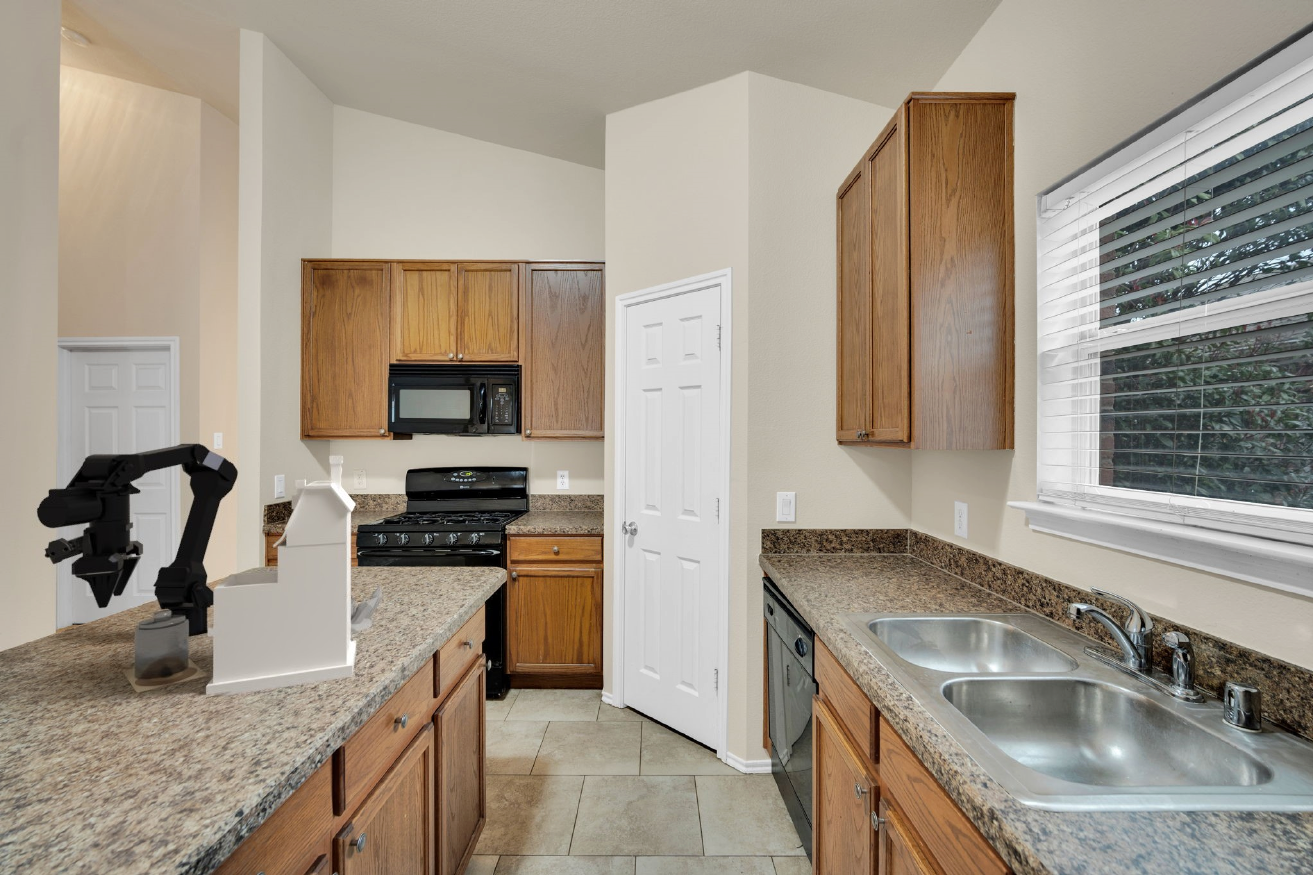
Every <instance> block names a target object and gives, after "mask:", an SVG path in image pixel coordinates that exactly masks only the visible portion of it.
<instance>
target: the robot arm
mask: <svg viewBox="0 0 1313 875" xmlns="http://www.w3.org/2000/svg"><path fill="white" fill-rule="evenodd" d="M176 466H181V467H182V469H181V470H182V471H183V472H184V473H185V474H187V476H188V477H190V479H189V488H190V489H191V492H192V495H193V500H192V503H191V506H190V509H189V513H188V517H187V520H186V523H185V526H184V530H183V533H182V536H181V538H180V542H179V545H178V550H177V552H176V556H175V558H174V560H173V561H172V563H171V564H169V565H168V566H161V567H160V568H159V570H158V572H157V579H156V581H155V582H154V584H153V587H154V593H153V594H154V597H156V600H157V602H158V605H159V607H160V608H159V609H160V610H161V611H162V610H171V615H184V616H185V619H188V620H189V638H191V637H196V636H200V635H205V634H208V608H211V606H214V590H212V589H211V588H210V587H209V586H208V585H207V580H208V573H207V570H206V569H205V568H206V567H205V565H204V559H205V556H206V552H207V549H208V546H209V542H210V538H211V535H212V532H213V527H214V524H215V522H216V518H217V514H218V511H219V507H220V503H221V501H222V500H223V499H225V497H226V496H227V495H229V493H230V492H231V491H233V488H234V486H235V483H236V481H237V479H238V475H239V471H238V469H237V468H236V466H235V465H234V463H233V462H231V461H229V460H228V459H227V458H226V457H224V456H222V455H220V454H217V453H215V452H213V451H212V450H210V449H209V448H207V447H206V445H204V444H201V443H179V444H177V445H174V446H169V447H163V448H158V449H152V450H147V451H142V452H136V453H129V454H128V453H125V454H124V453H123V454H121V453H120V454H119V453H118V454H117V453H116V454H115V453H113V454H111V453H110V454H107V453H106V454H105V453H104V454H103V453H102V454H101V453H100V454H99V453H96V454H95V453H94V454H90V455H88V456H86V457H85V458H84V461H83V462H82V464H81V466H80V468H79V469H78V471H76V474H75V475H73V477H72V479H71V480H70V482H69V483H68V484H67V485H66V487H65V488H50V489H48V496H46V497H44V498H43V499H42V500H41V502H40V503H39V505H38V507H37V508H36V515H37V518H38V520H39V522H40V523H41V524H42V526H45V527H47V528H48V529H57V528H64V527H70V526H71V527H72V526H79V525H85V524H88V527H85V529H83V531H82V532H83V533H82V535H81V536H77V537H74V538H71V539H68V540H67V539H66V538H63V537H61V538H58V539H55V540H52V541H49V542H48V544H47V545H48V546H47V547H46V548H45V549H44V551H45V554H44V557H45V558H47V559H49V560H50V561H51V564H53V565H56V564H58V563H61V562H63V561H64V560H67V559H69V558H72V557H76V556H77V555H81V554H82V556H81V557H79V558H77V559H76V560H75V561H74V562H72V563H71V575H74V576H75V577H76V578H77V579H81V580H82V581H85V582H87V583H88V585H89V587H90V589H91V592H92V595H93V597H94V600H95V602H96V605H97V607H98V609H105V608H107V607H108V605H109V604H110V601H111V600H112V596H114V597H121V596H122V595H123V593H124V591H125V589H126V587H127V585H128V582H129V581H130V579H131V577H132V575H133V573H134V570H136V567H137V565H138V563H139V561H140V559H141V557H142V556H141V555H143V554H144V544H143V543H141V542H140V541H138V540H131V529H133V528H134V522H133V521H131V519H130V518H131V495H135V494H136V495H137V494H141V489H139V488H137V487H136V486H134V485H133V484H132V482H134V481H137V480H139V479H141V478H143V476H144V475H145V474H148V473H150V472H153V471H157V470H158V471H159V470H162V469H166V468H171V467H176ZM132 555H135V556H132Z"/></svg>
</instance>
